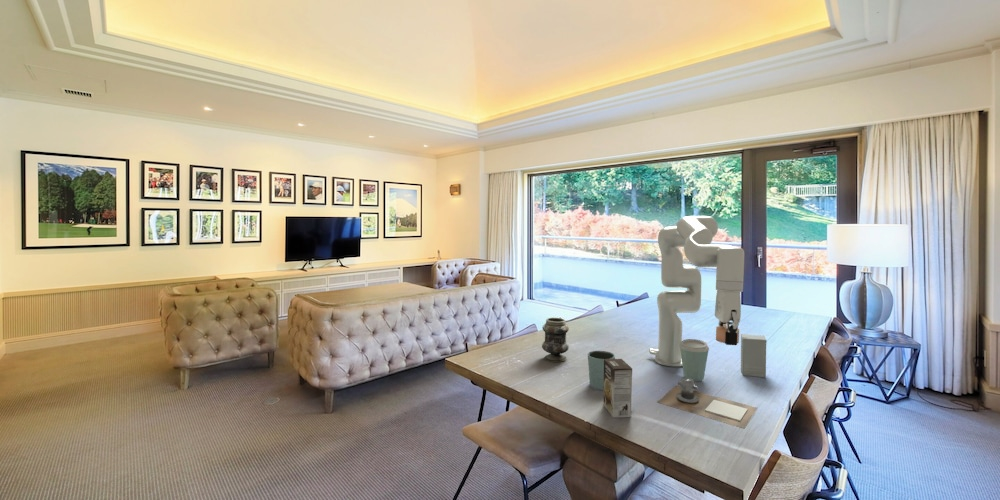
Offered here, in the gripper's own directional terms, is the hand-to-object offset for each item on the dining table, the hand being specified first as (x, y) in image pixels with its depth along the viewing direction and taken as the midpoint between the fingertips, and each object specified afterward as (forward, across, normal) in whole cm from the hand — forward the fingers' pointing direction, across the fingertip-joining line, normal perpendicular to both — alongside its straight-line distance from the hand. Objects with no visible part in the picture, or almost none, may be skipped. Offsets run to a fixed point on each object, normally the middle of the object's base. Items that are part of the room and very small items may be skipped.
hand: (727, 340), depth 129 cm
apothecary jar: (+24, -40, -58) cm, 75 cm away
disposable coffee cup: (+24, -27, -4) cm, 37 cm away
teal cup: (+24, -14, -39) cm, 48 cm away
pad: (+23, 0, 0) cm, 23 cm away
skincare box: (+24, -39, +21) cm, 50 cm away
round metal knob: (+23, -6, -10) cm, 26 cm away
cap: (0, 0, 0) cm, 0 cm away
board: (+24, -3, -5) cm, 24 cm away
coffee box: (+24, +6, -34) cm, 42 cm away
